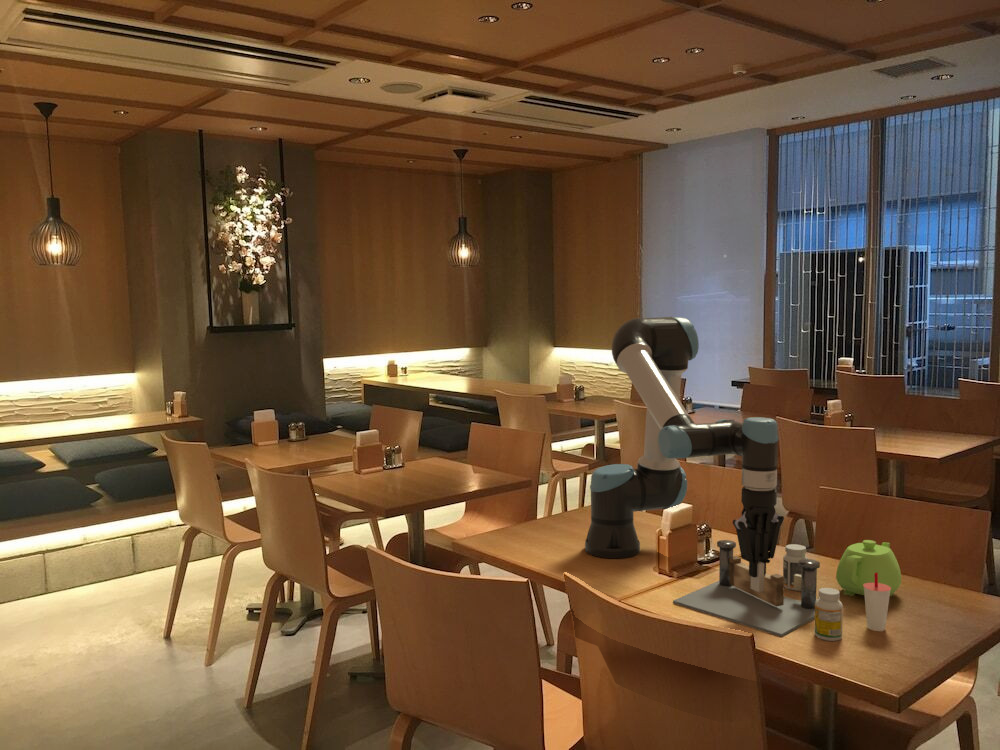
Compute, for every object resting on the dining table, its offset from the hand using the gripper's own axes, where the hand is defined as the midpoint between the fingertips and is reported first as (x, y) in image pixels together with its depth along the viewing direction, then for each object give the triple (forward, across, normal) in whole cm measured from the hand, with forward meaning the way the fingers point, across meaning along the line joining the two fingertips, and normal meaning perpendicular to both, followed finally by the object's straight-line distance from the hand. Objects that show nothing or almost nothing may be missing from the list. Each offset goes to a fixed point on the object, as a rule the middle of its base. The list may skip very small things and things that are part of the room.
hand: (757, 589), depth 189 cm
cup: (+4, +13, -21) cm, 25 cm away
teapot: (+4, +28, -6) cm, 29 cm away
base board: (+4, -2, 0) cm, 4 cm away
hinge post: (+4, +2, +13) cm, 14 cm away
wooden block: (+2, +2, +2) cm, 4 cm away
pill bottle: (+4, +16, +5) cm, 17 cm away
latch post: (+4, +8, -6) cm, 11 cm away
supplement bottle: (+4, +1, -20) cm, 20 cm away
